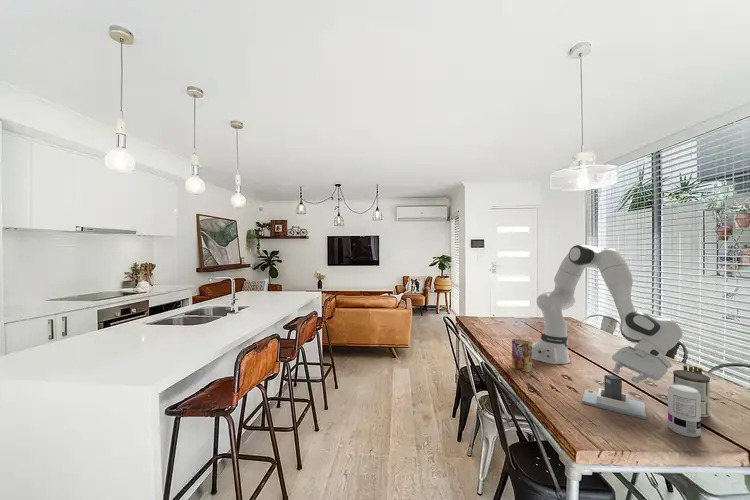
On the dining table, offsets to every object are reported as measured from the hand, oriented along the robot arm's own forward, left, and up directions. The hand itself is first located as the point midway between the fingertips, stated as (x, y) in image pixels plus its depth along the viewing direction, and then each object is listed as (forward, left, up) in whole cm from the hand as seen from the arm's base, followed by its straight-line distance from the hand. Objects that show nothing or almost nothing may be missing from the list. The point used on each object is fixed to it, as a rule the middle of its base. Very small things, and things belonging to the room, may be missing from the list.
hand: (624, 376), depth 130 cm
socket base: (-3, -3, -11) cm, 12 cm away
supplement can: (+17, -12, -11) cm, 23 cm away
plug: (-4, -3, -10) cm, 11 cm away
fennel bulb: (+24, +32, -11) cm, 41 cm away
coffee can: (+21, +10, -11) cm, 25 cm away
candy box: (-42, +14, -11) cm, 46 cm away
